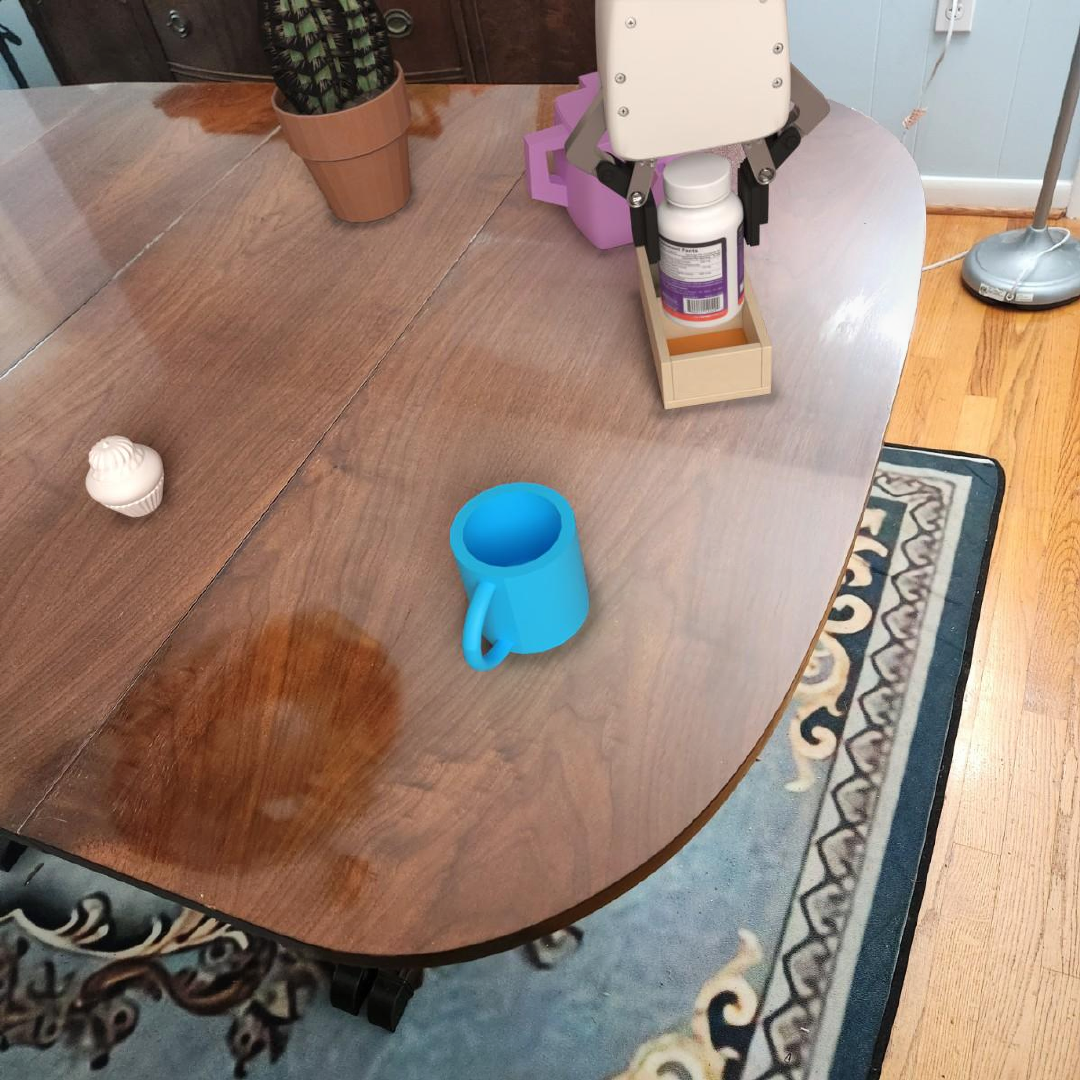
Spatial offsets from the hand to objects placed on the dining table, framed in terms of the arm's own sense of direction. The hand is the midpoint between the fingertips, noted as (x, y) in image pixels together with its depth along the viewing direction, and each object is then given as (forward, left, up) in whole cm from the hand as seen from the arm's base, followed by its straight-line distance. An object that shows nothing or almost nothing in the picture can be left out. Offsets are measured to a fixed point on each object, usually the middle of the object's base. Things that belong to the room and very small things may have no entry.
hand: (699, 240), depth 63 cm
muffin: (+46, -5, -20) cm, 50 cm away
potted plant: (+29, -48, -20) cm, 59 cm away
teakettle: (+1, -38, -20) cm, 43 cm away
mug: (+15, +13, -20) cm, 28 cm away
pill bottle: (0, 0, -5) cm, 5 cm away
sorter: (-2, -15, -19) cm, 24 cm away
